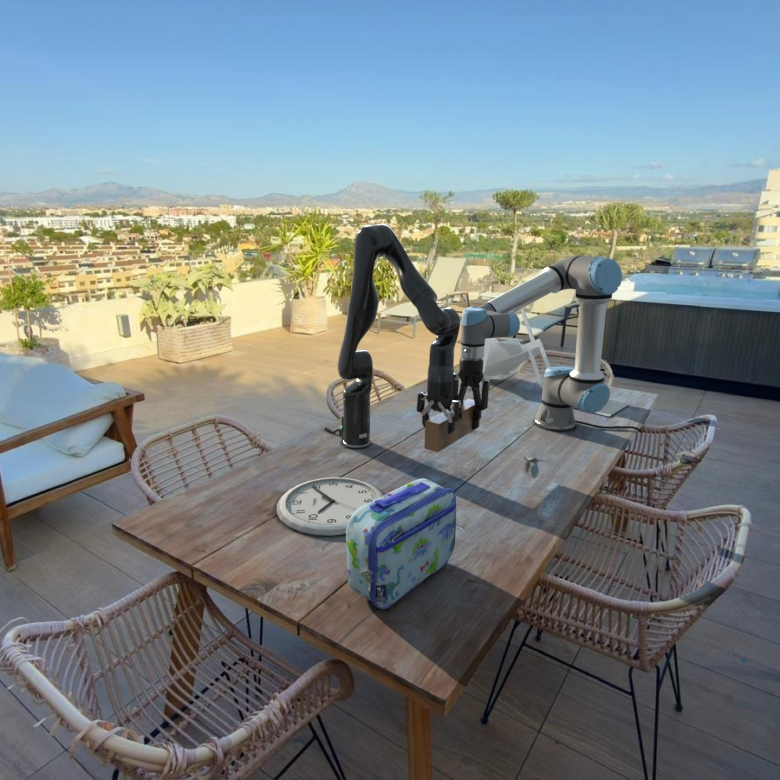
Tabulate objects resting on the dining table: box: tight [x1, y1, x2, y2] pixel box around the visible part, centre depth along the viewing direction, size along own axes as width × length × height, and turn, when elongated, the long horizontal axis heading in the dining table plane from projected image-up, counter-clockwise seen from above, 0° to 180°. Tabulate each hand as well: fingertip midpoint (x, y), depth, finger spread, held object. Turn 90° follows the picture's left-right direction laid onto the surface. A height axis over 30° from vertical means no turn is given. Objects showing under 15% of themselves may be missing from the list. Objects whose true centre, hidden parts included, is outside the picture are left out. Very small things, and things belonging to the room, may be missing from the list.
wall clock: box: [276, 476, 385, 537], centre depth 142 cm, size 30×2×30 cm
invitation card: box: [595, 399, 629, 418], centre depth 226 cm, size 21×1×15 cm
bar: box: [424, 398, 481, 453], centre depth 164 cm, size 26×5×9 cm, turn 143°
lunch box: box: [345, 477, 457, 610], centre depth 110 cm, size 26×11×21 cm, turn 134°
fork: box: [525, 448, 536, 473], centre depth 169 cm, size 3×16×2 cm, turn 160°
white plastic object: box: [482, 307, 551, 390], centre depth 257 cm, size 37×45×31 cm
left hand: (438, 429), depth 156 cm, fingers open, 8 cm apart
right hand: (467, 426), depth 172 cm, fingers closed on bar, 5 cm apart
